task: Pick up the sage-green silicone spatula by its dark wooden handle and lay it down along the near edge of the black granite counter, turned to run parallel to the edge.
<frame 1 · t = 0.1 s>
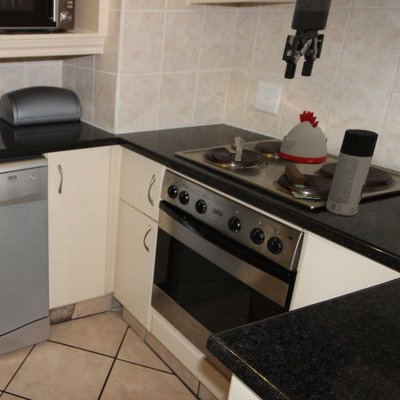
hand: (297, 77, 122), 30 cm above the countertop, tool pointing down, fingers open, 8 cm apart
architectural model: (234, 161, 155), on the countertop
kitchen timer: (301, 157, 158), on the countertop
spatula: (297, 186, 133), on the countertop
spray can: (340, 212, 117), on the countertop
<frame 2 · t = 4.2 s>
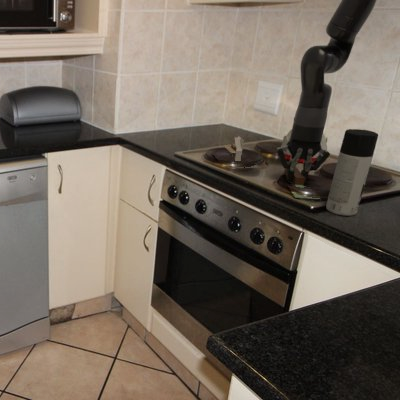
hand: (295, 182, 135), 0 cm above the countertop, tool pointing down, fingers closed on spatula, 2 cm apart
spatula: (297, 186, 133), on the countertop, touching gripper
everything else where it was.
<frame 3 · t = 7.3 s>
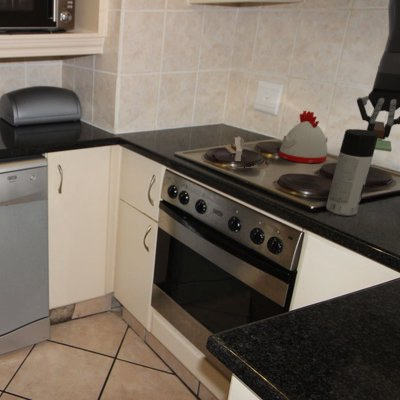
hand: (376, 137, 126), 15 cm above the countertop, tool pointing down, fingers closed on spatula, 2 cm apart
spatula: (376, 140, 125), point 14 cm above the countertop, touching gripper
everything else where it was.
when the fingers open (0 cm above the countertop, at t = 10.7 s): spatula stays where it is, on the countertop.
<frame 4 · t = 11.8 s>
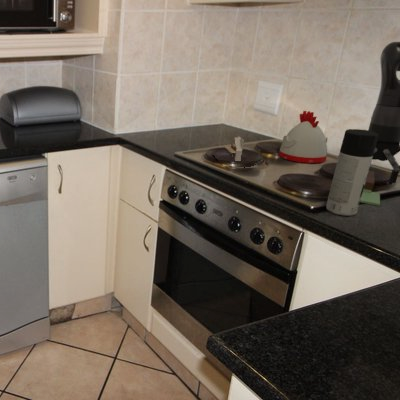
hand: (371, 180, 131), 3 cm above the countertop, tool pointing down, fingers open, 8 cm apart
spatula: (366, 191, 130), on the countertop
everything else where it was.
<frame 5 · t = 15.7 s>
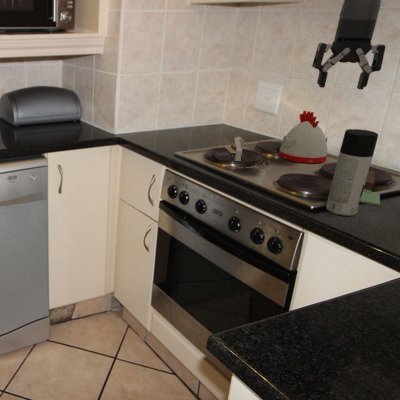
hand: (340, 88, 117), 28 cm above the countertop, tool pointing down, fingers open, 8 cm apart
nothing on the countertop moved.
at the end: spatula inside the target area (0.2 cm from its centre), on the countertop; the gripper is holding nothing; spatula tilted 0° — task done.
